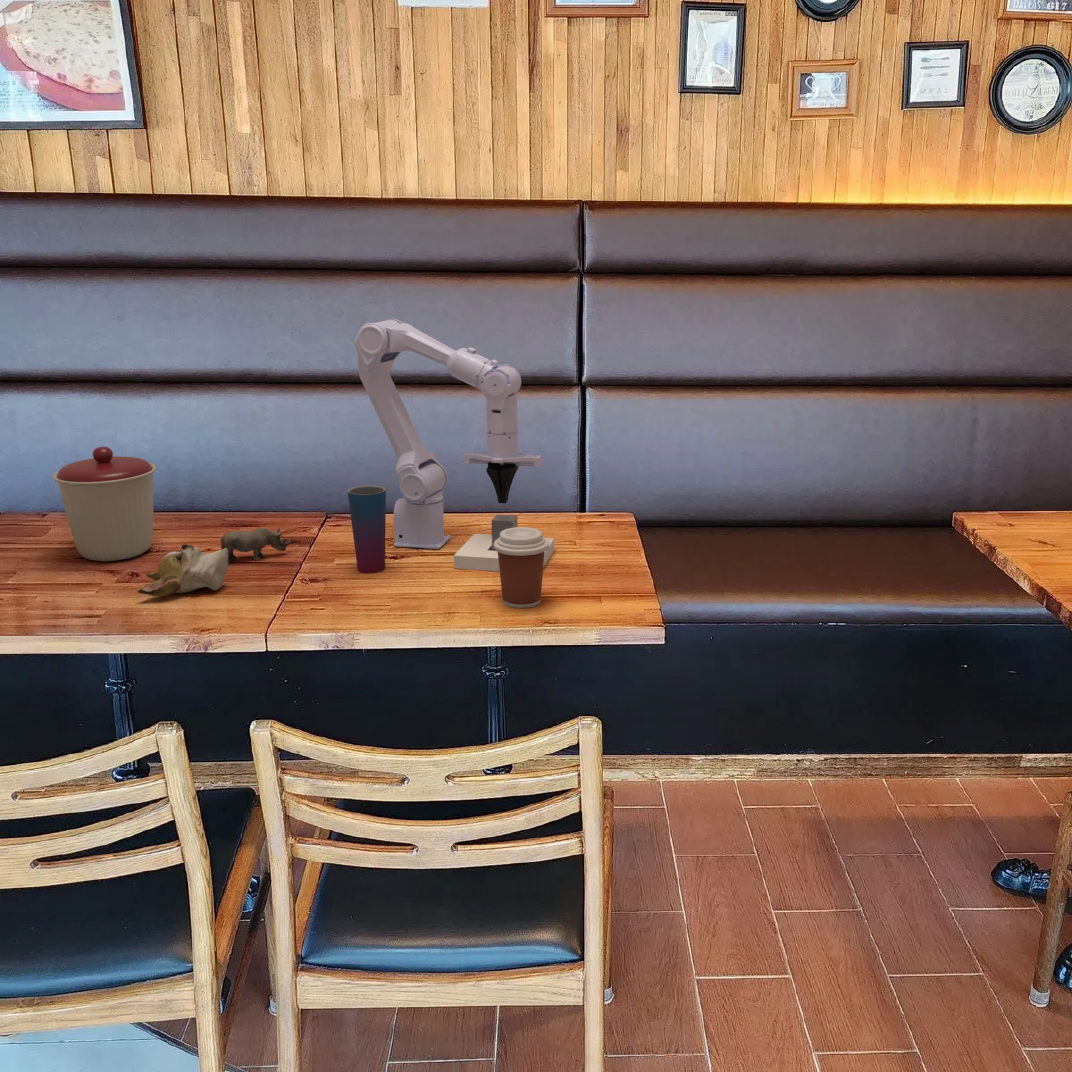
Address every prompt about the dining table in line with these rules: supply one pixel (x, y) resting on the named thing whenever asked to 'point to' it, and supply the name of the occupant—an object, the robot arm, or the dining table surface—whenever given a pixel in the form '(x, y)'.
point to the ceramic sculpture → (188, 571)
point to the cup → (368, 526)
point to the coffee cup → (521, 565)
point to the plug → (502, 525)
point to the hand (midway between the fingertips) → (503, 501)
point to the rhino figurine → (252, 542)
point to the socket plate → (485, 554)
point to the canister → (108, 505)
